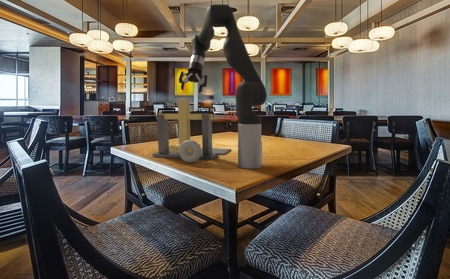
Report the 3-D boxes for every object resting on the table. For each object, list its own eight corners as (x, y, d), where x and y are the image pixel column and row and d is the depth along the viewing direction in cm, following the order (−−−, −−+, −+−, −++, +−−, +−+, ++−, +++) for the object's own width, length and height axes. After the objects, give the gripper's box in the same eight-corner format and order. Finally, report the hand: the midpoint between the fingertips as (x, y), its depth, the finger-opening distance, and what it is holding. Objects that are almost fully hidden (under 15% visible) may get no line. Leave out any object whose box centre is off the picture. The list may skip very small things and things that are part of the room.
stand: (217, 156, 126) (217, 113, 124) (210, 160, 117) (210, 114, 114) (162, 153, 135) (161, 113, 132) (152, 156, 126) (150, 114, 123)
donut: (178, 163, 112) (177, 140, 110) (181, 161, 115) (180, 139, 114) (200, 164, 109) (199, 140, 108) (202, 162, 113) (202, 139, 111)
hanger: (215, 149, 126) (215, 98, 123) (208, 153, 117) (207, 98, 114) (164, 147, 134) (162, 99, 131) (153, 150, 125) (151, 99, 122)
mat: (231, 150, 142) (231, 149, 142) (223, 155, 129) (223, 153, 129) (197, 148, 148) (197, 147, 148) (186, 153, 134) (186, 151, 134)
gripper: (182, 58, 135) (176, 84, 128) (209, 63, 135) (205, 88, 128) (183, 68, 141) (177, 93, 134) (209, 72, 142) (204, 97, 135)
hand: (191, 90), depth 131 cm, fingers open, 8 cm apart
